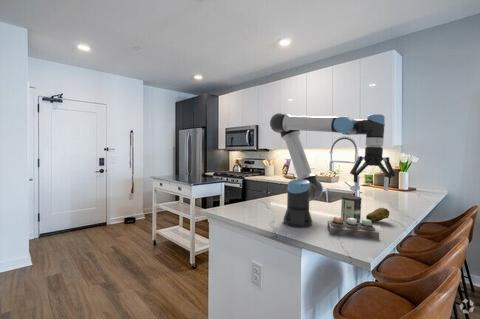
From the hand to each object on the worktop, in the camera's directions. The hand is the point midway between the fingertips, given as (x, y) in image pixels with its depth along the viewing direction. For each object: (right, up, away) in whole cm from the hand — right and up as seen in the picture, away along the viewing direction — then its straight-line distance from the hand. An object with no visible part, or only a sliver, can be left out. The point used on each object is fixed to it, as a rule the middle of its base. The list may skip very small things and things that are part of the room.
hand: (371, 189), depth 118 cm
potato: (+14, -21, +19) cm, 31 cm away
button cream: (-10, -16, 0) cm, 19 cm away
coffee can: (-2, -21, +18) cm, 27 cm away
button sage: (-3, -17, -2) cm, 17 cm away
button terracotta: (-16, -16, +1) cm, 23 cm away
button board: (-10, -21, 0) cm, 23 cm away
